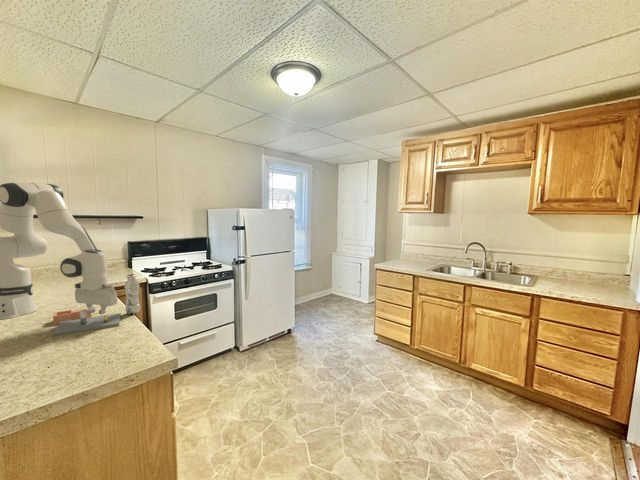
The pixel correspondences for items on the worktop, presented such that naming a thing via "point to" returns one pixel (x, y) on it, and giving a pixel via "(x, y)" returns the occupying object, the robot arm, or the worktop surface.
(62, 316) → the orange hollow block
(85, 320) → the post
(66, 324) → the board
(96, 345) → the worktop surface
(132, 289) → the plastic bottle
